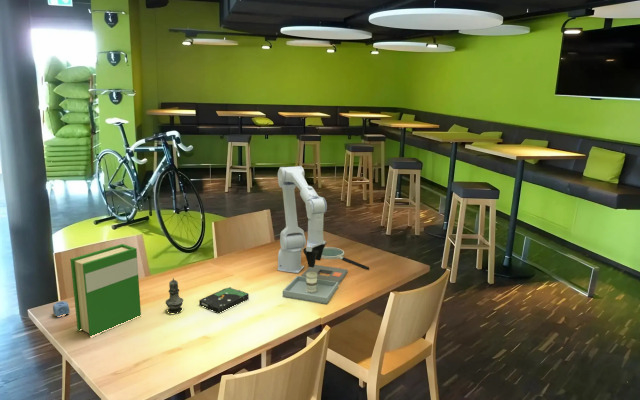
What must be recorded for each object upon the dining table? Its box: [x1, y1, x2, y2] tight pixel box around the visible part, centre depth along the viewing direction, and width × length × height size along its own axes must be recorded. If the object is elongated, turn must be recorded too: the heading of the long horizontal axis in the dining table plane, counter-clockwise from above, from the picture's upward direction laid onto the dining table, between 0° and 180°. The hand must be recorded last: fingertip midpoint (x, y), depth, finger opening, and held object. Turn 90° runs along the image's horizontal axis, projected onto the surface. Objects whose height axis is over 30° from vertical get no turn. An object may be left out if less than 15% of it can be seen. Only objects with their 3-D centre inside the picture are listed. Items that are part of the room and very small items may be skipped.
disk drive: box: [198, 286, 250, 314], centre depth 170 cm, size 10×3×15 cm
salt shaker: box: [165, 277, 184, 314], centre depth 162 cm, size 6×6×12 cm
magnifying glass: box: [321, 246, 370, 271], centre depth 216 cm, size 13×31×2 cm, turn 42°
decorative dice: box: [52, 300, 70, 316], centre depth 158 cm, size 4×4×4 cm
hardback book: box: [70, 243, 142, 337], centre depth 151 cm, size 18×7×24 cm, turn 146°
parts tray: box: [282, 275, 339, 305], centre depth 180 cm, size 17×15×2 cm
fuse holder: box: [300, 264, 349, 286], centre depth 196 cm, size 16×14×2 cm
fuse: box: [306, 272, 317, 293], centre depth 180 cm, size 4×4×7 cm
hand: (314, 263), depth 182 cm, fingers open, 7 cm apart
